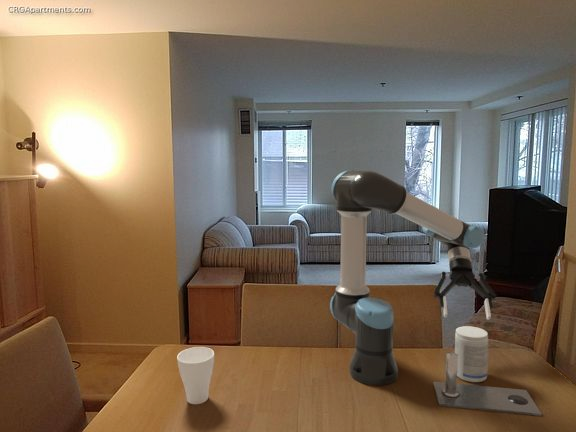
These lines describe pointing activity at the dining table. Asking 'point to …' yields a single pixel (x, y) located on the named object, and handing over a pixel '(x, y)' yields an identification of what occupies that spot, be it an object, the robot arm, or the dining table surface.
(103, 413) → the dining table surface
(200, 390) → the cup
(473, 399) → the grey flat rectangular plate
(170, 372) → the dining table surface
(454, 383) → the steel pin
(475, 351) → the supplement tub
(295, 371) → the dining table surface
